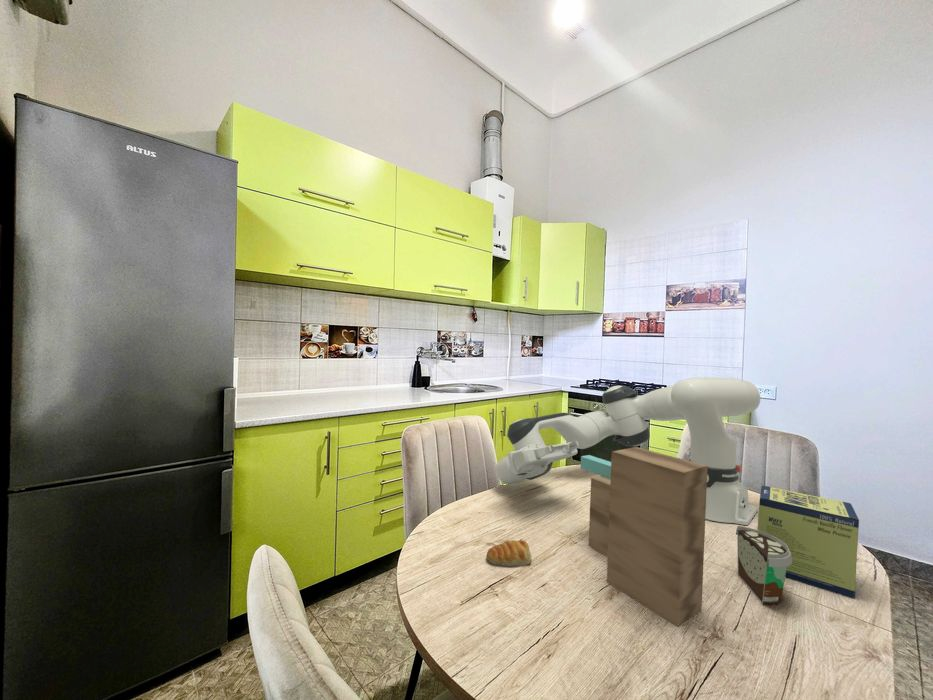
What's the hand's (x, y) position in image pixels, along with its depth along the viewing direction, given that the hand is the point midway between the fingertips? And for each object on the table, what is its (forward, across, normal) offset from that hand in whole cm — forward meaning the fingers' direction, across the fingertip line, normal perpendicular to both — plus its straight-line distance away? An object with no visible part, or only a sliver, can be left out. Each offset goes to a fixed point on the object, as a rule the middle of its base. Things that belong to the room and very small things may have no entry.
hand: (564, 446), depth 103 cm
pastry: (-3, +24, -22) cm, 33 cm away
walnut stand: (+12, +4, -30) cm, 32 cm away
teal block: (+12, 0, -12) cm, 17 cm away
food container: (+26, -12, -38) cm, 48 cm away
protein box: (+27, -27, -39) cm, 55 cm away
